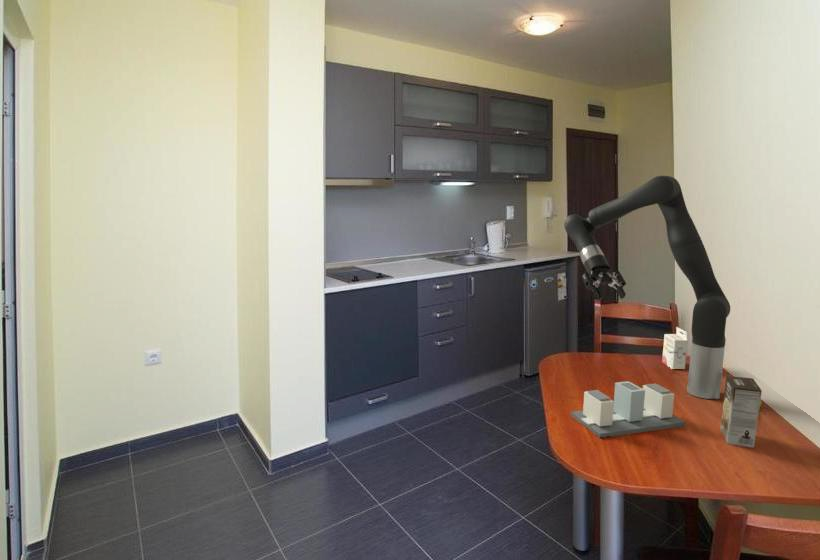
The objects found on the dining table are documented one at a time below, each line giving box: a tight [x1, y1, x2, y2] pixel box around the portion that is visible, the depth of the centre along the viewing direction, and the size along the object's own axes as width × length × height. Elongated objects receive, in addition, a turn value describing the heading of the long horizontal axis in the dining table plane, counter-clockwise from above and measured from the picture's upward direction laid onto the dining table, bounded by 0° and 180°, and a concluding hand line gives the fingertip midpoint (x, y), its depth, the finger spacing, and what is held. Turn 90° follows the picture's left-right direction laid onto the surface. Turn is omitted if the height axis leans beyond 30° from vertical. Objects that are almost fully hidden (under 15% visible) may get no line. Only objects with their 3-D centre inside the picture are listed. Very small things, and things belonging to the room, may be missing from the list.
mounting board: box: [570, 409, 687, 439], centre depth 141 cm, size 28×14×2 cm, turn 104°
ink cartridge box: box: [661, 326, 688, 370], centre depth 185 cm, size 9×5×15 cm, turn 179°
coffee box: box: [720, 375, 763, 449], centre depth 130 cm, size 9×6×16 cm
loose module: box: [613, 381, 645, 422], centre depth 140 cm, size 4×7×9 cm, turn 14°
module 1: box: [582, 389, 614, 426], centre depth 138 cm, size 4×8×8 cm, turn 14°
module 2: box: [642, 382, 675, 419], centre depth 143 cm, size 4×8×8 cm, turn 14°
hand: (612, 298), depth 164 cm, fingers open, 8 cm apart
